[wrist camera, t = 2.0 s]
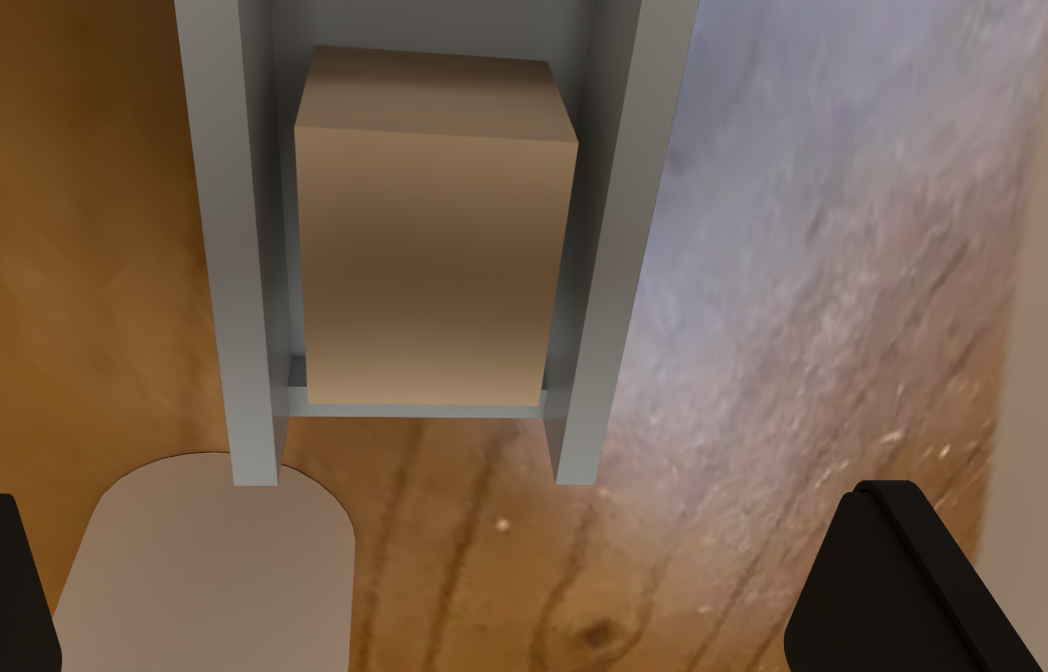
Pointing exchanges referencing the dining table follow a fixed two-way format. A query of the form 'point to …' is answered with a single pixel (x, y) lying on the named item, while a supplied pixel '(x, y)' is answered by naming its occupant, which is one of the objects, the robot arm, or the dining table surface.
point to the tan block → (430, 225)
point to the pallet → (272, 197)
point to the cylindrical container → (210, 575)
